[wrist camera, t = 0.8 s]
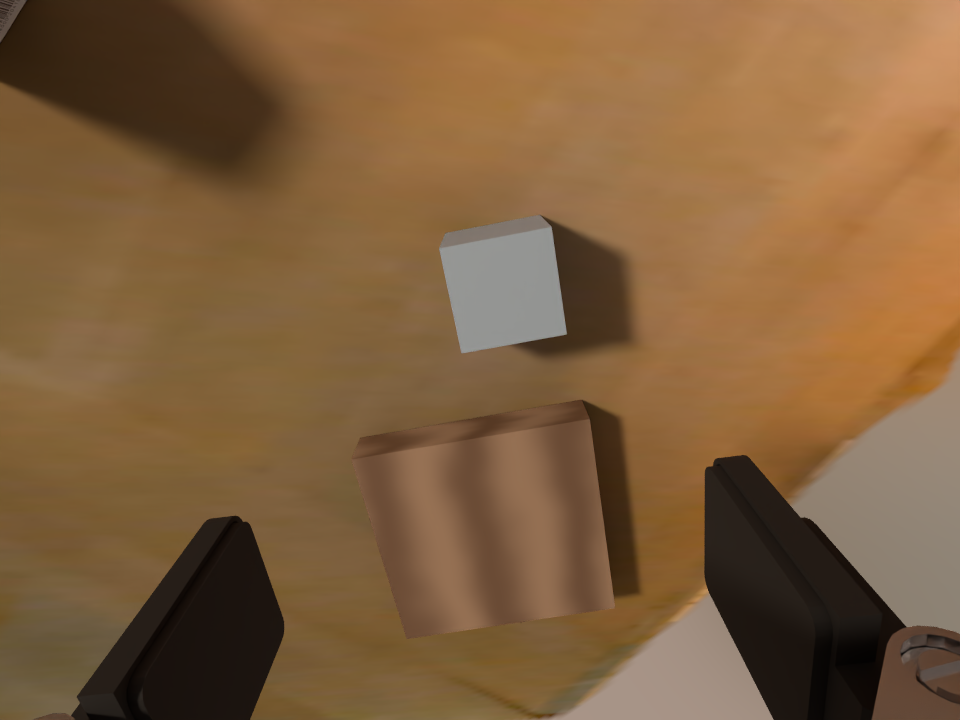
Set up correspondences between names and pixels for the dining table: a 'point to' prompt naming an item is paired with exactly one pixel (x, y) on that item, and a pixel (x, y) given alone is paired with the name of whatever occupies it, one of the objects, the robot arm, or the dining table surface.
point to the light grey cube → (503, 283)
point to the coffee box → (8, 14)
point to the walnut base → (488, 519)
